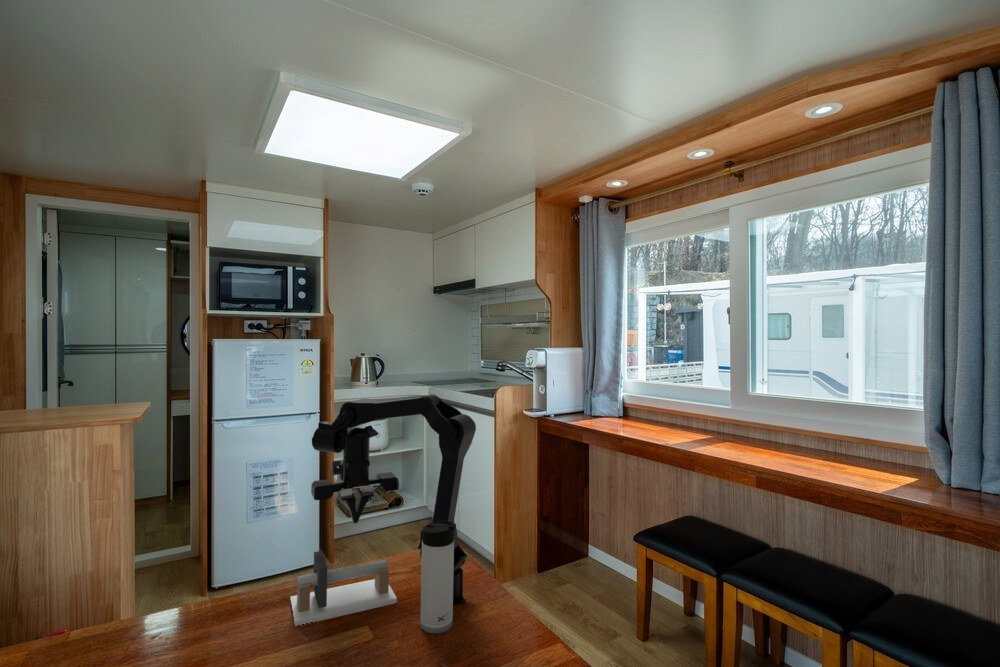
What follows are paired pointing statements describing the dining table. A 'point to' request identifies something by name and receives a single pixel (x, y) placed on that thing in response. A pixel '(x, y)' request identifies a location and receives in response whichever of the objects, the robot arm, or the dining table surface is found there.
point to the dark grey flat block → (320, 579)
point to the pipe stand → (343, 593)
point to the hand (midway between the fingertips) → (355, 522)
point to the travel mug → (437, 576)
